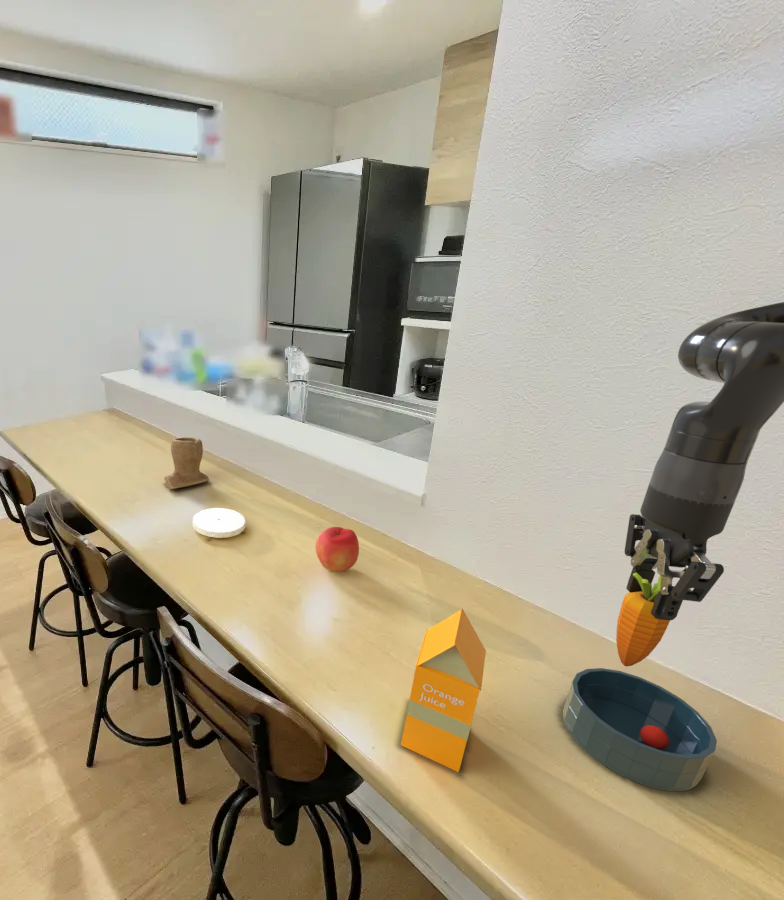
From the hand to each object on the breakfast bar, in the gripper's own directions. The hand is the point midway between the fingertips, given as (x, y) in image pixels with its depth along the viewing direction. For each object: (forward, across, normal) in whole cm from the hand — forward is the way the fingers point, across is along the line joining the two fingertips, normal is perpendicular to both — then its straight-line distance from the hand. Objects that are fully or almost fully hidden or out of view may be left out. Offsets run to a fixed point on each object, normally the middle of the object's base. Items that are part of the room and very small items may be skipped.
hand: (648, 604), depth 66 cm
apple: (+23, +35, +37) cm, 56 cm away
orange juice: (+23, -7, +24) cm, 34 cm away
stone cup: (+23, +75, +83) cm, 114 cm away
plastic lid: (+23, +48, +67) cm, 85 cm away
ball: (+20, -2, -5) cm, 21 cm away
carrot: (+11, 0, 0) cm, 11 cm away
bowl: (+22, -1, -3) cm, 23 cm away
